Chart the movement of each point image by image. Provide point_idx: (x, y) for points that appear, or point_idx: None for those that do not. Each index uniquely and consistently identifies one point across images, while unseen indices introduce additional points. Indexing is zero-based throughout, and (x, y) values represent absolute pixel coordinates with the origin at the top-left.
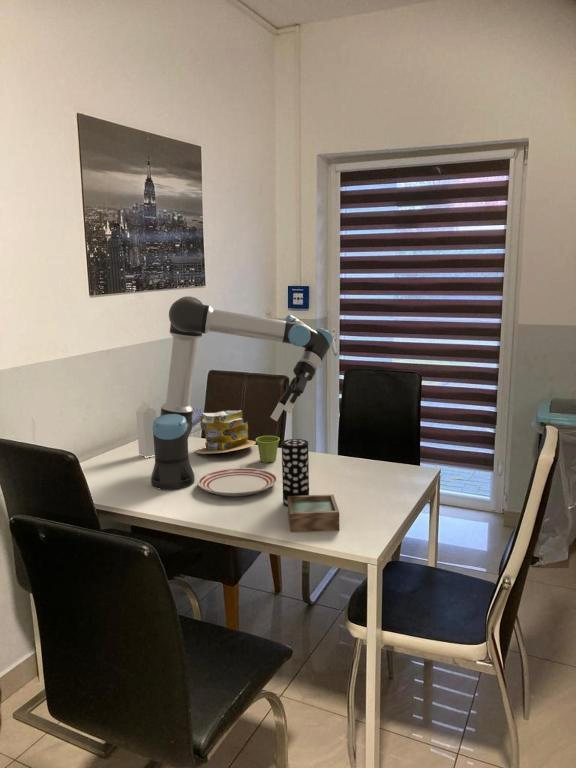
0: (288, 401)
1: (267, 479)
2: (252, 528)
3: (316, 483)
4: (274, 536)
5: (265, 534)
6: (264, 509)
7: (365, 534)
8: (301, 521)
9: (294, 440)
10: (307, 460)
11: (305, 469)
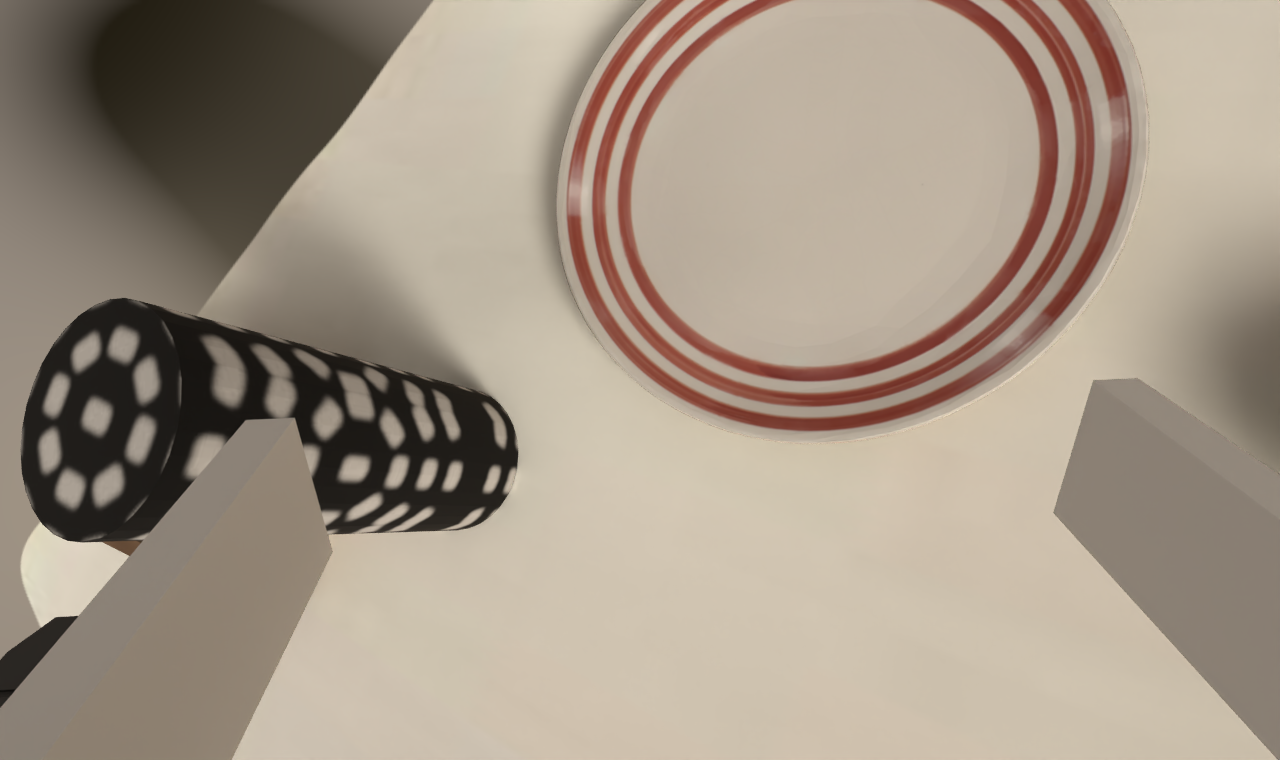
0: (140, 577)
1: (832, 383)
2: (310, 206)
3: (701, 715)
4: (228, 277)
5: (252, 248)
6: (450, 285)
7: None
8: None
9: (140, 433)
10: None
11: None
